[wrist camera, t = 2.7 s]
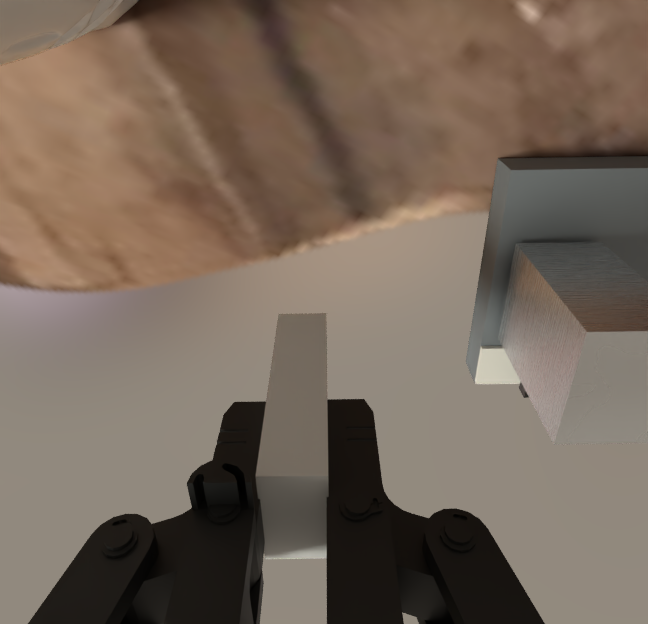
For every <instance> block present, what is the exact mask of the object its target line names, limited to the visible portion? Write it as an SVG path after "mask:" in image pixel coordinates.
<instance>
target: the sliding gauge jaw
mask: <svg viewBox="0 0 648 624" xmlns="http://www.w3.org/2000/svg"><path fill="white" fill-rule="evenodd" d="M498 339H499V341H500V343H501V345H502V347H503V349H504V350H505V352H506V354H507V356H508V358H509V360H510V362H511V364H512V366H513V368H514V370H515V371H516V373H517V375H518V377H519V379H520V381H521V382H520V386H519V389H520V391H521V393H522V395H523V397H524V398H525V397H529V398H530V400H531V402H532V404H533V406H534V408H535V410H536V411H537V413H538V415H539V417H540V419H541V421H542V423H543V425H544V427H545V429H546V431H547V432H548V434H549V436H550V438H551V440H552V442H553V444H616V443H617V444H622V443H648V282H647V281H646V280H645V279H644V278H642V277H641V276H640V275H639V274H638V273H637V272H635V271H634V270H633V269H632V268H631V267H630V266H628V265H627V264H626V263H625V262H624V261H623V260H621V259H620V258H619V257H618V256H617V255H616V254H615V253H613V252H612V251H611V250H610V249H609V248H608V247H606V246H605V245H604V244H603V243H602V242H563V243H516V245H515V250H514V255H513V260H512V266H511V271H510V276H509V281H508V287H507V292H506V297H505V302H504V308H503V313H502V318H501V323H500V328H499V334H498Z"/></svg>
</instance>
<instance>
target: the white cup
mask: <svg viewBox="0 0 648 624" xmlns="http://www.w3.org/2000/svg"><path fill="white" fill-rule="evenodd" d="M138 1H139V0H0V66H2V65H6V64H9V63H12V62H16V61H19V60H22V59H26V58H29V57H32V56H35V55H37V54H40V53H42V52H44V51H46V50H49V49H52V48H55V47H58V46H61V45H64V44H67V43H69V42H71V41H73V40H75V39H77V38H79V37H81V36H83V35H85V34H86V33H88V32H91V31H95V30H99V29H103V28H107V27H110V26H111V25H112V24H113V23H114V22H115V21H117V20H118V19H119V18H120V17H121V16H122V15H123V14H124V13H126V12H127V11H128V10H129V9H130V8H131V7H132V6H134V5H135V4H136V3H137V2H138Z"/></svg>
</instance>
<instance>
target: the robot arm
mask: <svg viewBox="0 0 648 624" xmlns="http://www.w3.org/2000/svg"><path fill="white" fill-rule="evenodd" d="M187 486H188V491H189V496H190V500H191V505H192V508H191V509H190V510H188V511H187V512H185V513H183V514H181V515H179V516H176V517H174V518H171V519H167V520H164V521H161V522H157V523H154V524H151V523H150V522H149V520H148V519H147V518H145V517H143V516H141V515H138V514H124V515H120V516H117V517H113V518H112V519H110V520H108V521H106V522H105V523H103V524H102V525H100V526H99V527H98V528H97V529H96V530H95V532H94V533H93V534H92V535H91V536H90V538H89V539H88V540H87V542H86V543H85V544H84V546H83V547H82V549H81V550H80V551H79V553H78V554H77V556H76V557H75V558H74V560H73V561H72V563H71V564H70V565H69V567H68V568H67V570H66V571H65V572H64V574H63V576H62V577H61V578H60V580H59V581H58V582H57V584H56V585H55V587H54V588H53V589H52V591H51V592H50V594H49V595H48V596H47V598H46V599H45V601H44V602H43V603H42V605H41V606H40V608H39V609H38V611H37V612H36V613H35V615H34V616H33V617H32V619H31V620H30V622H29V623H28V624H260V614H261V603H262V594H263V584H264V583H263V574H262V564H263V554H265V559H309V558H310V559H313V558H327V624H404V623H403V615H402V612H403V613H406V614H409V615H412V616H415V617H417V619H418V622H419V624H545V623H544V622H543V620H542V618H541V617H540V615H539V613H538V612H537V610H536V608H535V607H534V605H533V603H532V602H531V600H530V598H529V597H528V595H527V593H526V592H525V590H524V588H523V587H522V585H521V583H520V582H519V580H518V578H517V577H516V575H515V573H514V572H513V570H512V568H511V567H510V565H509V563H508V562H507V560H506V558H505V557H504V555H503V553H502V552H501V550H500V548H499V547H498V545H497V543H496V542H495V540H494V538H493V537H492V535H491V533H490V532H489V530H488V528H487V527H486V526H485V525H484V524H483V523H482V521H481V520H480V519H478V518H477V517H475V516H474V515H472V514H471V513H469V512H466V511H463V510H459V509H443V510H441V511H438V512H436V513H434V514H433V515H432V516H431V517H430V518H425V517H422V516H418V515H415V514H411V513H409V512H406V511H403V510H402V509H400V508H399V507H397V506H396V505H394V504H393V503H392V502H391V501H390V500H389V499H388V497H387V495H386V494H385V492H384V489H383V485H382V478H381V470H380V462H379V454H378V446H377V438H376V430H375V422H374V415H373V411H372V410H371V408H370V407H369V405H368V404H367V403H366V401H365V400H364V399H347V400H346V399H342V400H338V399H337V400H327V336H326V313H322V314H279V315H278V322H277V330H276V337H275V343H274V351H273V357H272V365H271V371H270V378H269V385H268V392H267V400H266V402H234V403H233V404H232V406H231V407H230V408H229V409H228V410H227V412H226V413H225V414H224V415H223V420H222V424H221V428H220V433H219V436H218V440H217V445H216V448H215V452H214V457H213V460H212V461H210V462H208V463H206V464H204V465H202V466H200V467H199V468H198V469H197V470H195V471H194V472H193V473H192V475H191V476H190V478H189V480H188V482H187Z"/></svg>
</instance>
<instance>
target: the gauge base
mask: <svg viewBox="0 0 648 624" xmlns="http://www.w3.org/2000/svg"><path fill="white" fill-rule="evenodd" d="M563 242H602V243H603V244H604V245H605V246H606V247H608V248H609V249H610V250H611V251H612V252H613V253H615V254H616V255H617V256H618V257H619V258H620V259H621V260H623V261H624V262H625V263H626V264H627V265H628V266H630V267H631V268H632V269H633V270H634V271H635V272H637V273H638V274H639V275H640V276H641V277H642V278H644V279H645V280H646V281H647V282H648V156H620V157H556V158H498V161H497V167H496V174H495V180H494V186H493V193H492V199H491V205H490V212H489V218H488V225H487V231H486V237H485V244H484V250H483V257H482V263H481V269H480V276H479V282H478V288H477V294H476V301H475V307H474V313H473V320H472V326H471V333H470V339H469V345H468V352H467V358H466V363H467V366H468V368H469V371H470V373H471V375H472V378H473V381H474V383H476V384H520V382H521V381H520V379H519V377H518V375H517V373H516V371H515V370H514V368H513V366H512V364H511V362H510V360H509V358H508V356H507V354H506V352H505V350H504V349H503V347H502V345H501V343H500V341H499V339H498V334H499V328H500V323H501V318H502V313H503V308H504V302H505V297H506V292H507V287H508V281H509V276H510V271H511V266H512V260H513V255H514V250H515V245H516V243H563Z"/></svg>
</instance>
